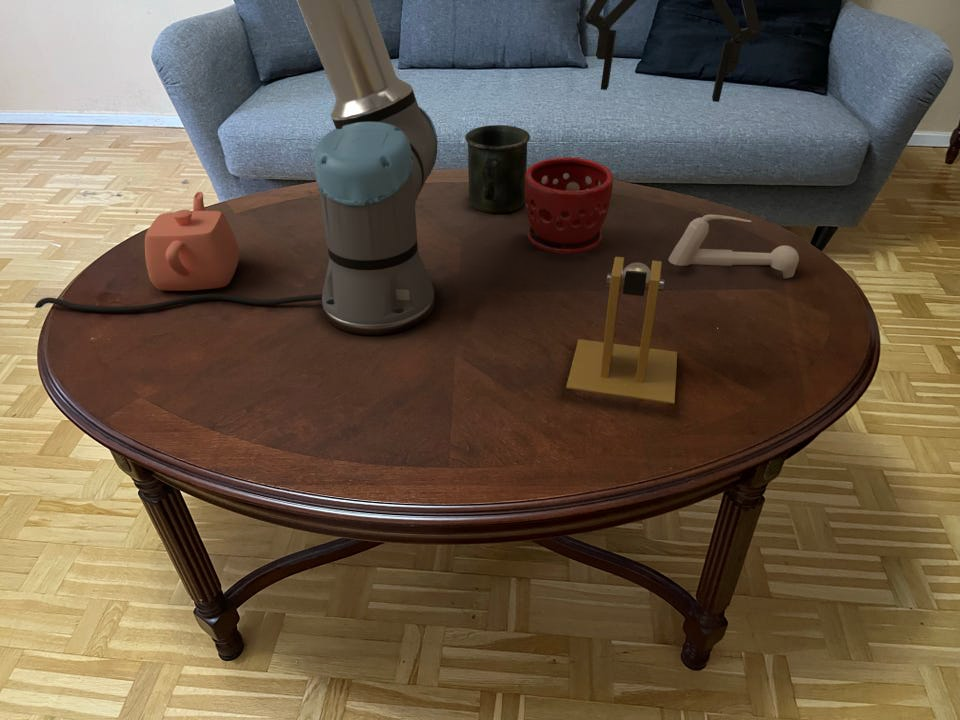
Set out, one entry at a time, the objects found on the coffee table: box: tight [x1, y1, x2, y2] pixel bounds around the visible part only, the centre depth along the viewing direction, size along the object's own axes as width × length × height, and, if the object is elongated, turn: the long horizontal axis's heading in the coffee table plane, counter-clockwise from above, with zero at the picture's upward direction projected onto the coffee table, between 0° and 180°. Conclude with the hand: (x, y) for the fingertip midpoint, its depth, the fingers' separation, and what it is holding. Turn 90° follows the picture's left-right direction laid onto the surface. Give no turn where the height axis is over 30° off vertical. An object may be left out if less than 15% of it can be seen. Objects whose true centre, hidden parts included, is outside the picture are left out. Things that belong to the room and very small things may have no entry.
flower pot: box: [524, 156, 614, 255], centre depth 109 cm, size 13×13×12 cm
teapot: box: [144, 191, 240, 292], centre depth 103 cm, size 12×18×10 cm, turn 4°
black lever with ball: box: [621, 262, 651, 297], centre depth 82 cm, size 13×4×4 cm, turn 166°
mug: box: [464, 124, 531, 214], centre depth 122 cm, size 11×15×12 cm
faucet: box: [667, 213, 800, 279], centre depth 104 cm, size 4×18×10 cm, turn 83°
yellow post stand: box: [565, 256, 678, 405], centre depth 80 cm, size 10×12×15 cm
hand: (659, 93), depth 89 cm, fingers open, 13 cm apart
